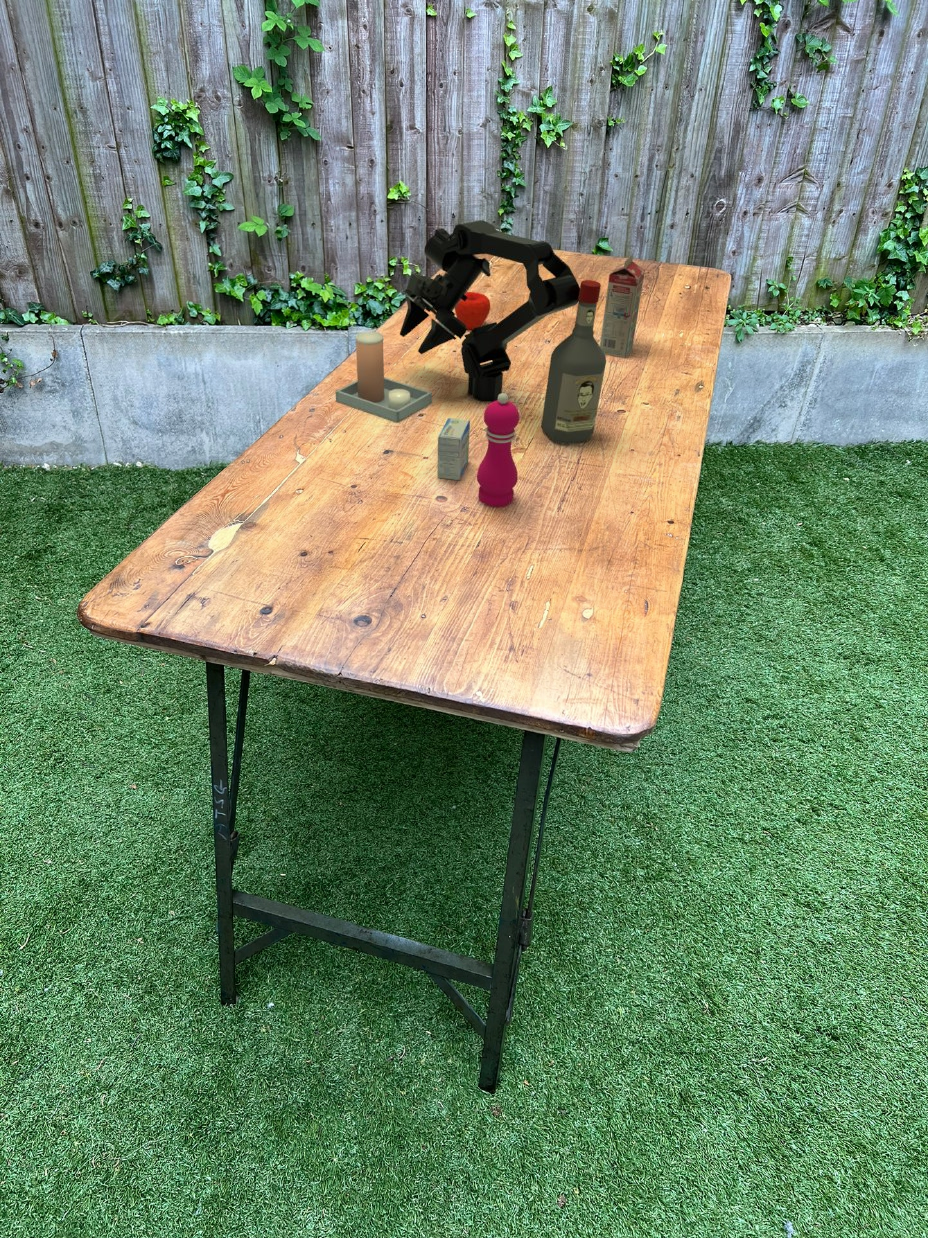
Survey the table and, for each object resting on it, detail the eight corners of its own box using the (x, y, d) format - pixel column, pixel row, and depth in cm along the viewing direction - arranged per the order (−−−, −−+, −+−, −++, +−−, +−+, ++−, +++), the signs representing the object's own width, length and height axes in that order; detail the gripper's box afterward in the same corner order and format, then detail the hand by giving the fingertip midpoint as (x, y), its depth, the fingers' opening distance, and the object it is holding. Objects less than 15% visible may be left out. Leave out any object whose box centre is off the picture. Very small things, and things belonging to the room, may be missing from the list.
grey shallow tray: (431, 405, 193) (431, 392, 191) (397, 426, 185) (397, 412, 183) (371, 386, 200) (371, 372, 198) (336, 404, 192) (335, 391, 190)
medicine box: (460, 481, 168) (462, 438, 163) (436, 478, 169) (437, 435, 164) (468, 461, 175) (470, 419, 169) (445, 458, 175) (447, 416, 170)
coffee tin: (390, 397, 193) (388, 336, 185) (370, 405, 190) (368, 343, 182) (372, 389, 196) (370, 329, 188) (352, 396, 193) (349, 336, 185)
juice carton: (598, 353, 220) (611, 258, 207) (606, 343, 225) (619, 251, 211) (625, 358, 218) (640, 263, 205) (632, 348, 223) (647, 255, 210)
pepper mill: (473, 488, 167) (479, 384, 154) (513, 488, 167) (522, 384, 155) (477, 509, 161) (483, 402, 149) (518, 508, 162) (527, 402, 149)
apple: (495, 325, 232) (497, 294, 227) (476, 335, 226) (478, 303, 221) (465, 317, 235) (466, 286, 231) (446, 327, 229) (447, 295, 225)
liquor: (536, 426, 187) (557, 276, 168) (575, 421, 190) (600, 274, 172) (556, 446, 180) (581, 292, 162) (597, 441, 183) (625, 290, 165)
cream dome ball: (414, 406, 191) (414, 392, 189) (401, 413, 188) (401, 399, 186) (397, 400, 193) (397, 387, 191) (384, 407, 190) (384, 394, 188)
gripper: (410, 243, 188) (365, 306, 191) (451, 274, 175) (401, 341, 179) (446, 274, 195) (402, 334, 199) (487, 306, 183) (439, 369, 187)
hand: (410, 343), depth 191 cm, fingers open, 9 cm apart
